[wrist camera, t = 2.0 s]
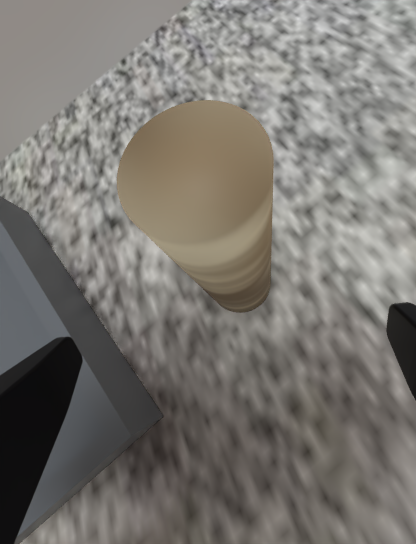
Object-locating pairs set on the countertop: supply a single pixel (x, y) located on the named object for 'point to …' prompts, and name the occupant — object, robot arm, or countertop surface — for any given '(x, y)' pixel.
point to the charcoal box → (93, 374)
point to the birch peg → (205, 197)
